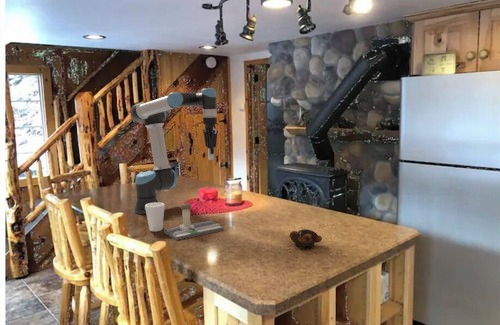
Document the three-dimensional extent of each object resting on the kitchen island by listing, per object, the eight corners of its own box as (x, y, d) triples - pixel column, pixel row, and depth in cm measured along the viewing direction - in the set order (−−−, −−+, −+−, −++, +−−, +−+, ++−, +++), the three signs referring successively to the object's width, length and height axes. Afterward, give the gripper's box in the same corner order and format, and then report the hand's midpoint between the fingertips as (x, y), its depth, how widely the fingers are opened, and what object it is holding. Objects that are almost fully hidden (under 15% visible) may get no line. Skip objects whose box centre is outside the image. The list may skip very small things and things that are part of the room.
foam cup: (146, 233, 202) (145, 207, 200) (146, 227, 211) (144, 203, 209) (166, 231, 205) (164, 206, 203) (164, 226, 213) (163, 201, 212)
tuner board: (164, 233, 202) (163, 227, 201) (210, 223, 217) (209, 218, 216) (176, 240, 190) (175, 234, 190) (223, 229, 205) (223, 224, 205)
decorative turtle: (284, 246, 180) (285, 228, 180) (313, 243, 186) (314, 226, 186) (295, 252, 171) (296, 233, 171) (325, 249, 178) (326, 230, 177)
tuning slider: (179, 229, 202) (178, 204, 200) (188, 227, 205) (187, 202, 203) (189, 234, 193) (188, 208, 191) (199, 232, 196) (198, 206, 194)
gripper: (198, 117, 225) (199, 159, 229) (209, 117, 215) (210, 161, 218) (209, 116, 230) (211, 158, 233) (221, 117, 219) (223, 160, 222)
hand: (211, 159), depth 225 cm, fingers closed
